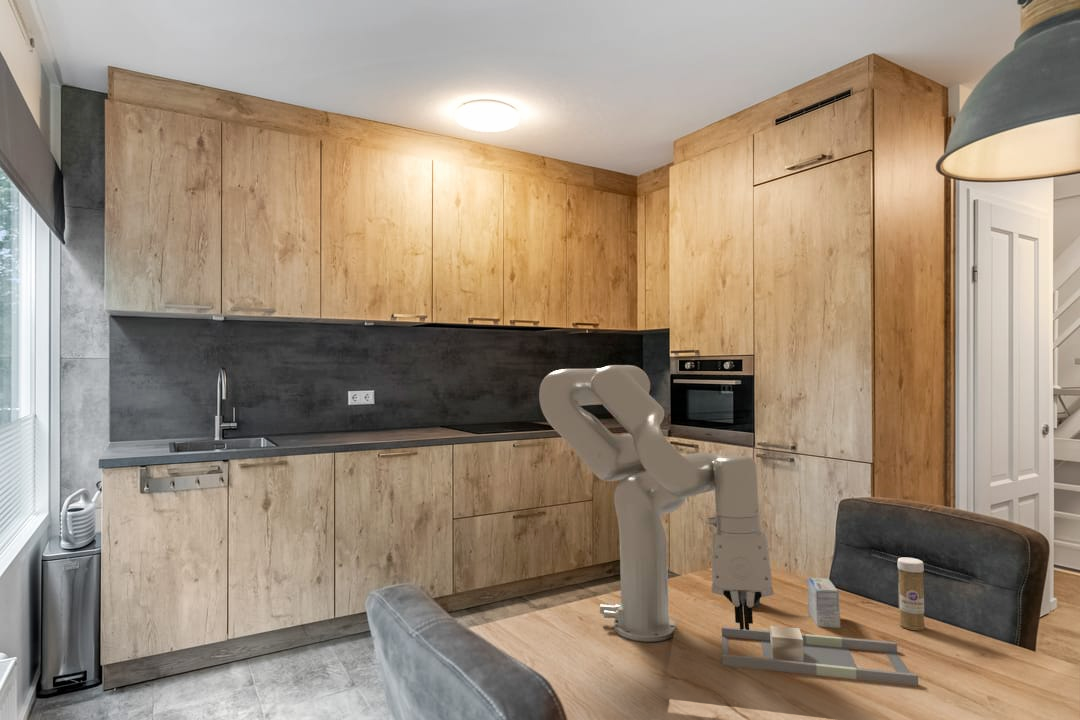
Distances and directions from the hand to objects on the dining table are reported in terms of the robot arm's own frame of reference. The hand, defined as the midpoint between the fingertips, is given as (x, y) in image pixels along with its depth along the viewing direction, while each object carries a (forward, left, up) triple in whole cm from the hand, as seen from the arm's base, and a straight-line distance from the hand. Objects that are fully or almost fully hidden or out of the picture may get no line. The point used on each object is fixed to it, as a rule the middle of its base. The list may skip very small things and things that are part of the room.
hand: (744, 626), depth 113 cm
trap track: (+11, 0, -6) cm, 13 cm away
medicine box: (+16, +19, -6) cm, 26 cm away
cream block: (+7, 0, -5) cm, 8 cm away
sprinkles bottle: (+33, +23, -6) cm, 41 cm away
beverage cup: (+2, +29, -6) cm, 30 cm away
